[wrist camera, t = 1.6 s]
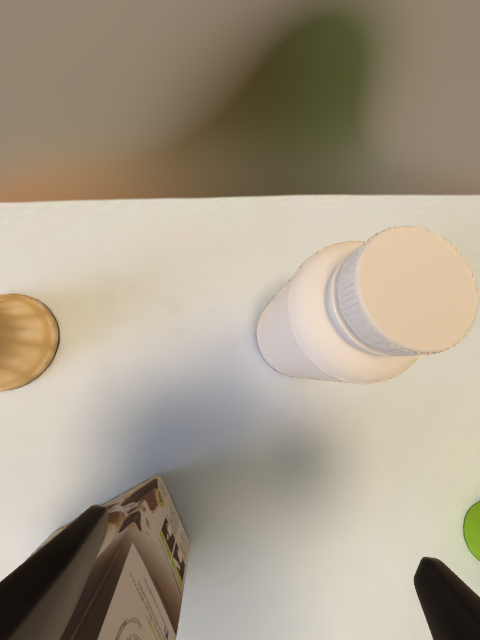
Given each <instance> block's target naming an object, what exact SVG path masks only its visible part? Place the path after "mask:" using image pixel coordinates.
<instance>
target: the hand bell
mask: <svg viewBox="0 0 480 640" xmlns="http://www.w3.org/2000/svg"><path fill="white" fill-rule="evenodd" d="M57 343H58V328H57V323H56V321H55V319H54V317H53V315H52V314H51V312H50V311H49V310H48V308H47V307H46V306H44V305H43V304H42V303H41V302H39V301H37V300H35V299H33V298H31V297H28V296H24V295H19V294H4V295H0V391H7V390H12V389H16V388H19V387H21V386H24V385H26V384H28V383H29V382H31V381H32V380H34V379H35V378H37V377H38V376H39V375H40V374H41V373H42V372H43V371H44V370H45V369H46V368H47V367H48V365H49V364H50V363H51V361H52V359H53V357H54V355H55V352H56V348H57Z"/></svg>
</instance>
